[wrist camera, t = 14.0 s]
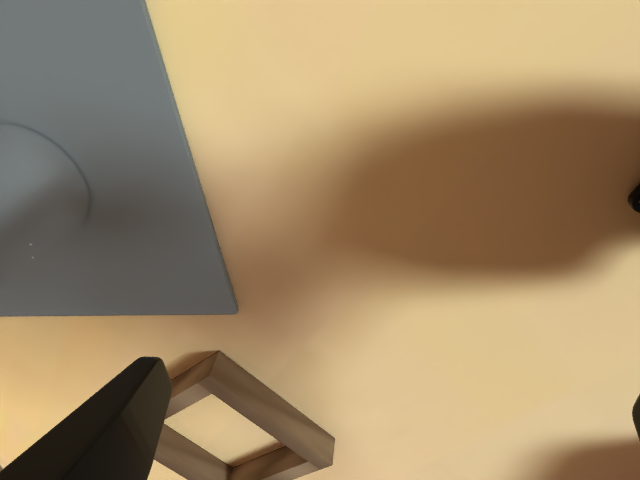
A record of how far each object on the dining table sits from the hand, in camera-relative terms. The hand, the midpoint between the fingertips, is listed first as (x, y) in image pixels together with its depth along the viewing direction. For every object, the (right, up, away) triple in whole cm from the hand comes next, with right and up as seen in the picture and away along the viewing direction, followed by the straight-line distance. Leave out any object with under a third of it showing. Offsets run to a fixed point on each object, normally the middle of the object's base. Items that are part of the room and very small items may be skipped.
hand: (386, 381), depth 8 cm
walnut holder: (-8, -11, +25) cm, 28 cm away
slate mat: (-16, +6, +14) cm, 22 cm away
